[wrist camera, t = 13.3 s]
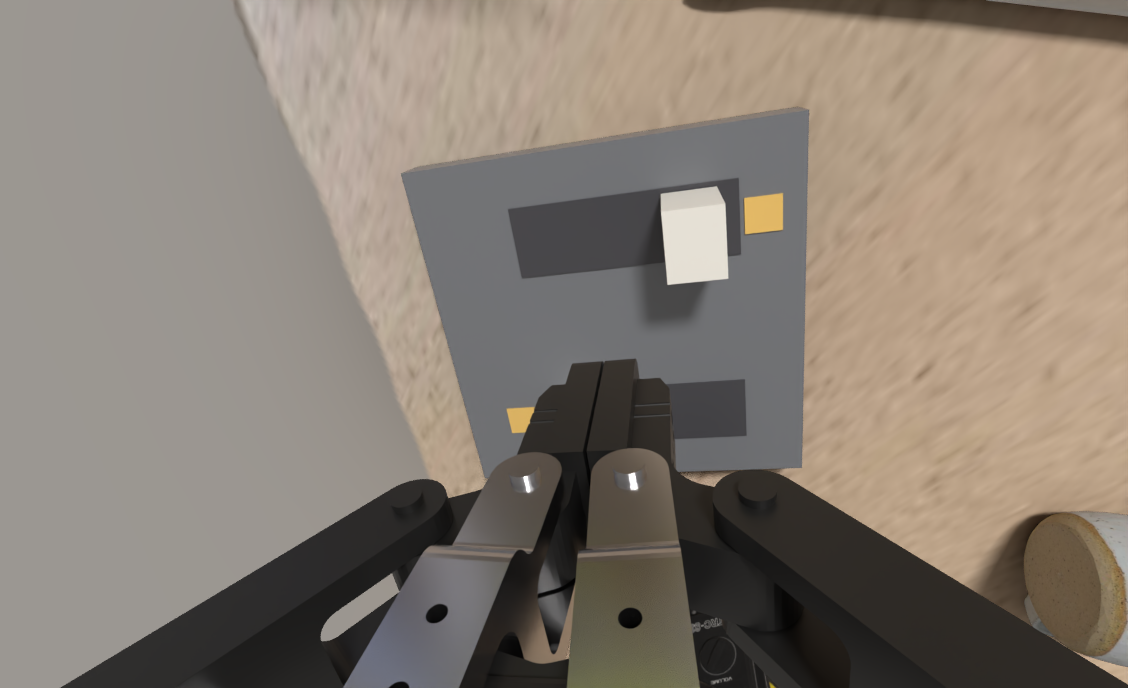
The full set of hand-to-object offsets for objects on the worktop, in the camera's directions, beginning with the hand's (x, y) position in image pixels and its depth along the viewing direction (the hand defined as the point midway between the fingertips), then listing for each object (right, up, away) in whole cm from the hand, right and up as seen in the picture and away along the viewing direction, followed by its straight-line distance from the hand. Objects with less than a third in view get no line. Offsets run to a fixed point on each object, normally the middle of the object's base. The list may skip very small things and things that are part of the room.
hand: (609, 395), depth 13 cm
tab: (+5, +7, +12) cm, 14 cm away
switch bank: (+2, +3, +17) cm, 17 cm away
